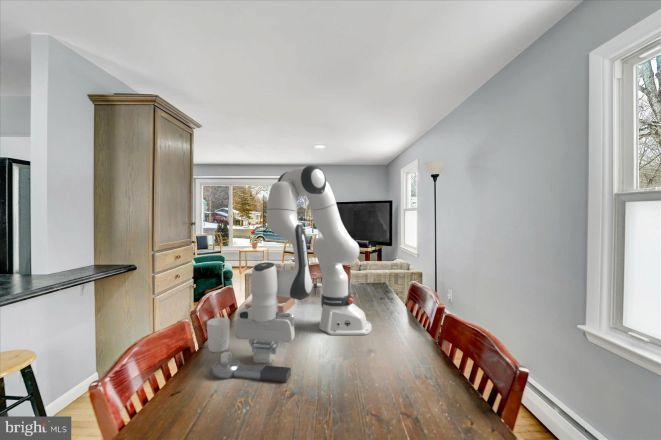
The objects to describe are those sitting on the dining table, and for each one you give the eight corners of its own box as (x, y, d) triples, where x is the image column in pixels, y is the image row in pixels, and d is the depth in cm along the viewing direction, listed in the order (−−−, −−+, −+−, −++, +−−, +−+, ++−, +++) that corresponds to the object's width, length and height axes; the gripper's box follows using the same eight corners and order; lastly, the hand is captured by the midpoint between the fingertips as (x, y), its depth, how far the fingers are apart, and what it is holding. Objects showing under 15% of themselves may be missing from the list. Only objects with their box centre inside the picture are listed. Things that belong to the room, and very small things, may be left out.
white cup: (208, 354, 111) (208, 326, 110) (205, 346, 118) (205, 319, 117) (231, 350, 114) (231, 322, 114) (227, 342, 121) (227, 316, 121)
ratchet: (292, 372, 98) (292, 353, 98) (284, 386, 90) (283, 365, 90) (221, 365, 103) (221, 347, 103) (207, 378, 95) (206, 358, 95)
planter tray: (295, 303, 173) (295, 296, 173) (283, 314, 155) (283, 306, 155) (260, 301, 177) (260, 294, 177) (245, 312, 159) (244, 304, 158)
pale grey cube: (276, 355, 109) (276, 338, 109) (269, 363, 104) (269, 345, 104) (260, 354, 111) (260, 337, 110) (253, 362, 105) (253, 344, 105)
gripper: (297, 310, 108) (297, 351, 108) (241, 307, 112) (241, 346, 112) (291, 316, 102) (291, 359, 102) (232, 313, 106) (232, 354, 106)
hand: (264, 352), depth 107 cm, fingers closed on pale grey cube, 6 cm apart
